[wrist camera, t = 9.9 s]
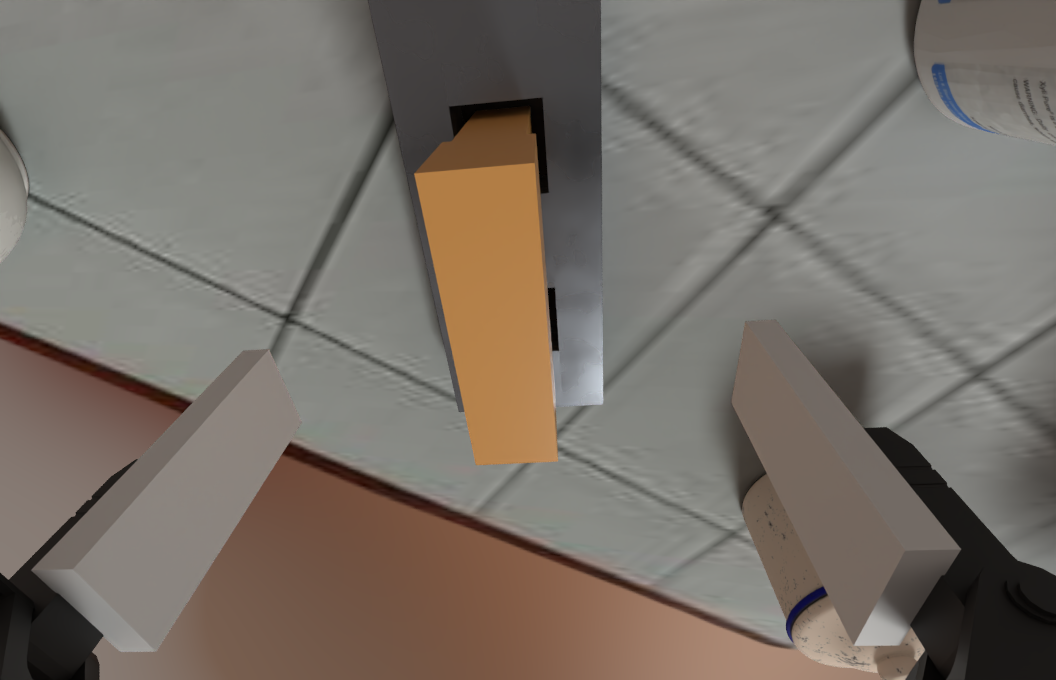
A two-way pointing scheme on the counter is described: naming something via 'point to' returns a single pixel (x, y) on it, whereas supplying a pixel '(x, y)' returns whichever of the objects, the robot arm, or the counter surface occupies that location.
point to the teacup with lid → (813, 594)
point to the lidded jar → (11, 195)
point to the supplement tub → (990, 64)
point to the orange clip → (494, 282)
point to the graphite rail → (570, 134)
